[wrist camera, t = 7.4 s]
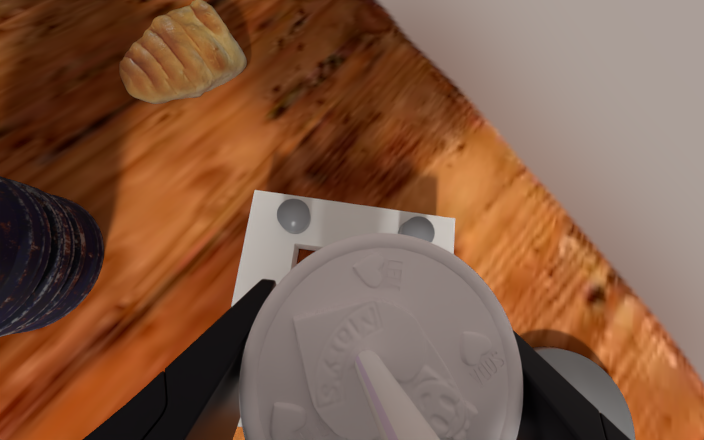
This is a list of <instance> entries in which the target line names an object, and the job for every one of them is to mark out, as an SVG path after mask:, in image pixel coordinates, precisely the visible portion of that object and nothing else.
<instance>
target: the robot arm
mask: <svg viewBox="0 0 704 440" xmlns="http://www.w3.org/2000/svg"><path fill="white" fill-rule="evenodd" d="M275 286H276V281H275V280H270V279H261V280H260V281H259V282H258V283H257V284H256V285H255V286H254V287H253V288H251V289H250V290H249V291H248V292H247V293H246V294H245V295H244V296H243V297H242V298H241V299H240V300H239V301H237V302H236V303H235V304H234V305H233V306H232V307H231V308H230V309H229V310H228V311H227V312H226V313H225V314H223V315H222V316H221V317H220V318H219V319H218V320H217V321H216V322H215V323H214V324H213V325H212V326H211V327H209V328H208V329H207V330H206V331H205V332H204V333H203V334H202V335H201V336H200V337H199V338H198V339H197V340H196V341H194V342H193V343H192V344H191V345H190V346H189V347H188V348H187V349H186V350H185V351H184V352H183V353H182V354H180V355H179V356H178V357H177V358H176V359H175V360H174V361H173V362H172V363H171V364H170V365H169V366H168V367H166V368H165V372H164V371H162V372H161V373H160V374H159V375H158V376H157V377H156V378H154V379H153V380H152V381H151V382H150V383H149V384H148V385H147V386H146V387H145V388H144V389H142V390H141V391H140V392H139V393H138V394H137V395H136V396H135V397H133V398H132V399H131V400H130V401H129V402H128V403H127V404H126V405H124V406H123V407H122V408H121V409H120V410H118V411H117V412H116V413H115V414H113V415H112V416H111V417H110V418H109V419H107V420H106V421H105V422H104V423H103V424H101V425H100V426H99V427H98V428H96V429H95V430H94V431H93V432H91V433H90V434H89V435H88V436H86V437H85V438H84V439H83V440H233V437H234V434H235V431H236V429H237V426H238V423H239V420H240V417H241V415H240V407H239V380H240V370H241V363H242V357H243V353H244V349H245V345H246V342H247V339H248V336H249V333H250V330H251V327H252V325H253V323H254V321H255V319H256V316H257V314H258V312H259V311H260V309H261V307H262V305H263V304H264V302H265V300H266V299H267V297H268V296H269V295H270V293H271V292H272V290H273V289H274V288H275ZM513 332H514V335H515V339H516V342H517V345H518V350H519V354H520V359H521V366H522V374H523V407H522V414H521V421H520V426H519V431H518V435H517V438H516V440H631V439H630V438H628V437H627V436H626V435H625V434H624V433H623V432H622V431H621V430H620V429H619V428H617V427H616V426H615V425H614V424H613V423H612V422H611V421H610V420H609V419H608V418H607V417H606V416H605V415H604V414H602V413H599V410H598V409H597V408H596V407H595V406H594V405H593V404H592V403H591V402H590V401H588V400H587V399H586V398H585V397H584V396H583V395H582V394H581V393H580V392H579V391H578V390H577V389H576V388H575V387H573V386H572V385H571V384H570V383H569V382H568V381H567V380H566V379H565V378H564V377H563V376H562V375H561V374H560V373H558V372H557V371H556V370H555V369H554V368H553V367H552V366H551V365H550V364H549V363H548V362H547V361H546V360H545V359H543V358H542V357H541V356H540V355H539V354H538V353H537V352H536V351H535V350H534V349H533V348H532V347H531V346H530V345H529V344H527V343H526V342H525V341H524V340H523V339H522V338H521V337H520V336H519V335H518V334H517V333H516V332H515V331H514V330H513Z"/></svg>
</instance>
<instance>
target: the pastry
mask: <svg viewBox="0 0 704 440" xmlns="http://www.w3.org/2000/svg"><path fill="white" fill-rule="evenodd" d="M246 65H247V59H246V57H245V55H244V53H243V51H242V49H241V48H240V46H239V45H238V43H237V42H236V41H235V39H234V38H233V36H232V35H231V34H230V32H229V30H228V28H227V26H226V25H225V24H224V22H223V21H222V19H221V18H220V16H219V15H218V14H217V12H216V11H215V9H214V8H213V7H212V6H211V5H209V4H207V3H206V2H205V1H202V0H195V1H193V2H192V3H191V5H190V6H187V7H183V8H180V9H176V10H172V11H170V12H169V13H168V14H166V15H162V16H158V17H157V18H155V19H154V20H153V21H152V24H151V26H150V27H149V28H148V29H147V30H146V31H145V32H144V35H143V36H142V38H140V39H139V40H138V41H136V42H134V43H133V44H132V46H131V47H130V49H129V50H128V51H127V52H126V53H125V56H124V58H123V60H122V61H121V62H120V63H119V73H120V77H121V79H122V82H123V84H124V86H125V88H126V90H127V92H128V93H129V94H130V95H131V96H133V97H135V98H137V99H140V100H143V101H146V102H149V103H153V104H159V103H166V102H168V101H170V100H174V99H183V98H194V97H200V96H201V95H202V94H203V93H204V92H206V91H210V90H212V89H213V88H215V87H217V86H219V85H222V84H225V83H226V82H228V81H230V80H231V79H233V78H235V77H236V76H237V75H238V74H240V73H241V72H242V71H243V70H244V69H245V67H246Z"/></svg>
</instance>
